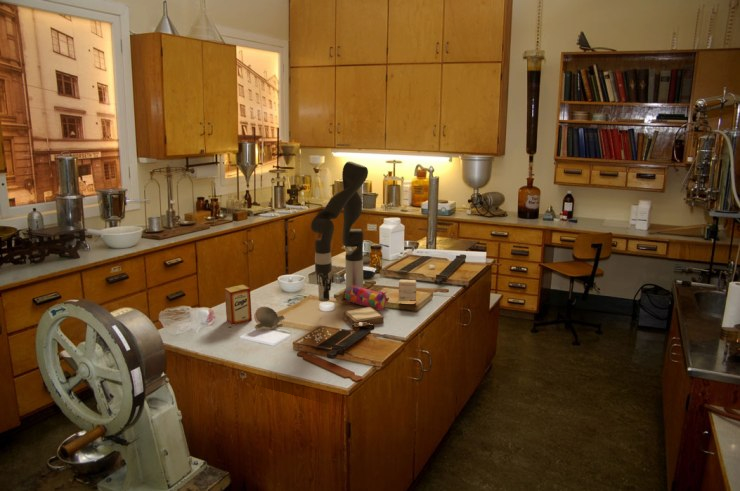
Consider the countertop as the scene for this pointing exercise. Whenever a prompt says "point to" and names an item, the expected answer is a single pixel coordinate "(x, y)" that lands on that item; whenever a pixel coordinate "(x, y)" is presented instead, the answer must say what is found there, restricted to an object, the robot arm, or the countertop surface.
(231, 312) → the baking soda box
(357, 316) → the tray
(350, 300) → the pencil case
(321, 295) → the weight
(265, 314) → the grey-brown rounded piece
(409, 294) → the ink box
